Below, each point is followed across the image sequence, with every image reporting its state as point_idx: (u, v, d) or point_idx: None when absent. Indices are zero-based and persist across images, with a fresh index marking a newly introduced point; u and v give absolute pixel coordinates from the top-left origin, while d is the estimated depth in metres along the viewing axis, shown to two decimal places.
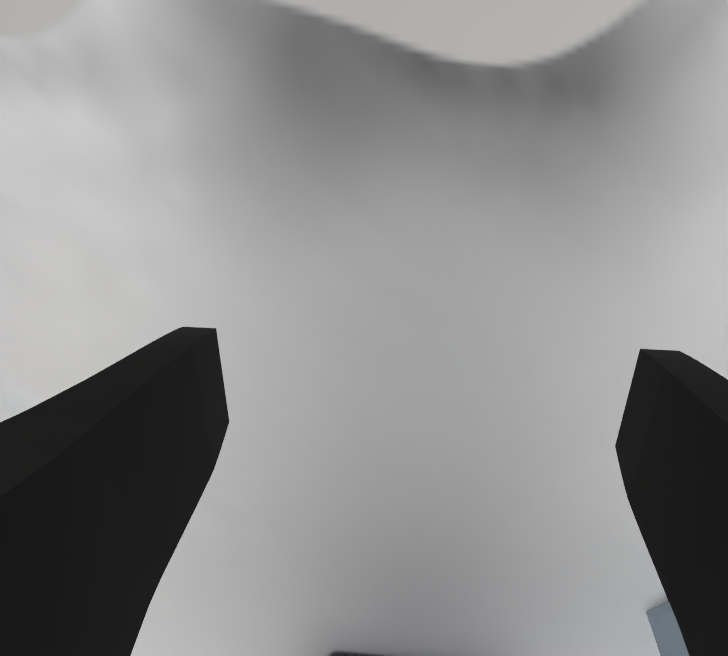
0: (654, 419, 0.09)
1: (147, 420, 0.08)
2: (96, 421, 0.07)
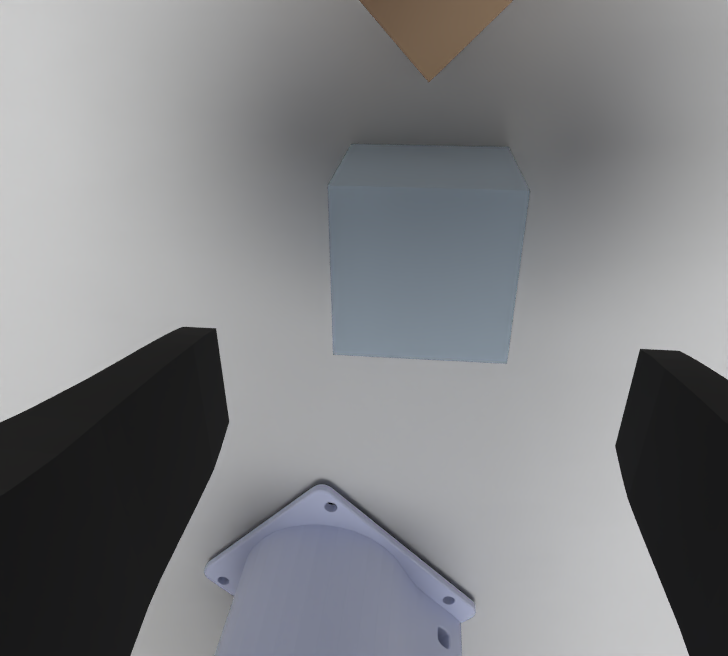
0: (654, 419, 0.09)
1: (147, 420, 0.08)
2: (96, 421, 0.07)
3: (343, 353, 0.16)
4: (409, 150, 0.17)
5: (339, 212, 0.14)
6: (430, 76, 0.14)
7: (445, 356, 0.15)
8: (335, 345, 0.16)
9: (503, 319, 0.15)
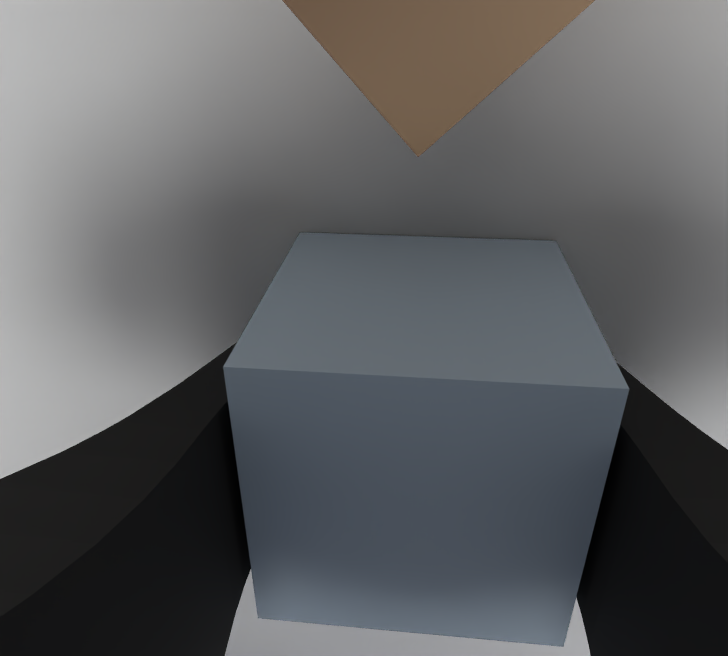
0: None
1: None
2: (201, 428, 0.07)
3: (275, 618, 0.09)
4: (392, 251, 0.10)
5: (250, 413, 0.07)
6: (421, 146, 0.07)
7: (454, 631, 0.09)
8: (260, 607, 0.09)
9: (561, 585, 0.08)
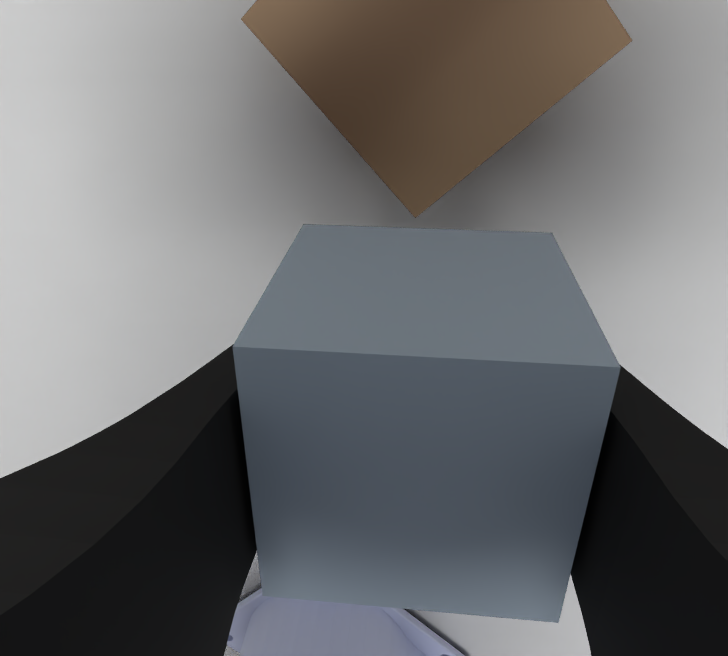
0: None
1: (237, 426, 0.08)
2: (200, 428, 0.07)
3: (279, 595, 0.09)
4: (393, 242, 0.10)
5: (258, 392, 0.07)
6: (417, 212, 0.15)
7: (452, 608, 0.09)
8: (265, 584, 0.09)
9: (556, 562, 0.08)
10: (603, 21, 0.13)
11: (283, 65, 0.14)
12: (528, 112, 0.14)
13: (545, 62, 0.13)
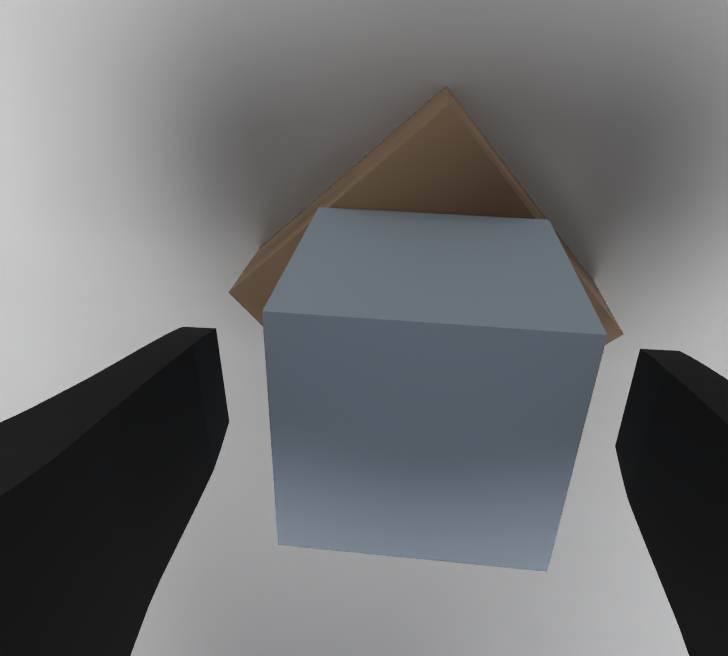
0: (654, 419, 0.09)
1: (147, 420, 0.08)
2: (95, 421, 0.07)
3: (293, 544, 0.10)
4: (402, 225, 0.11)
5: (284, 353, 0.08)
6: None
7: (451, 557, 0.10)
8: (281, 534, 0.10)
9: (546, 514, 0.09)
10: None
11: None
12: None
13: None
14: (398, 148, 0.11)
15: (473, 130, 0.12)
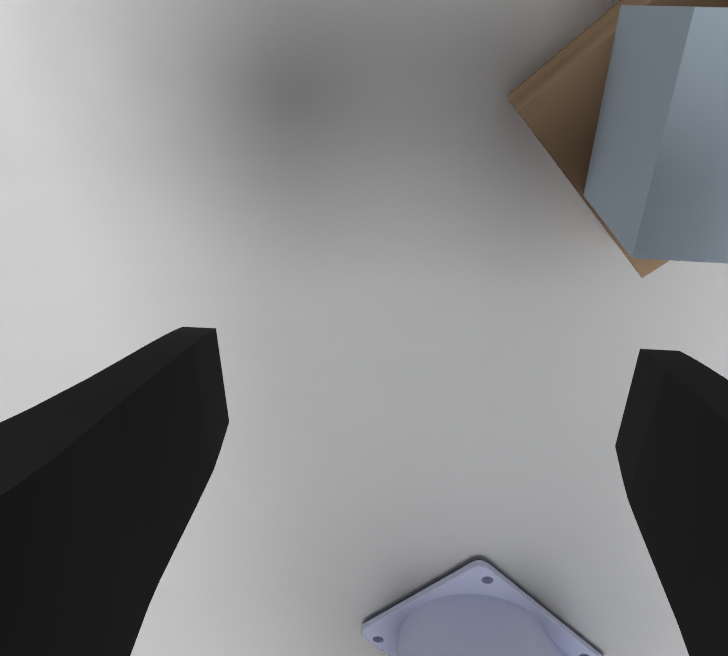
0: (654, 419, 0.09)
1: (147, 420, 0.08)
2: (95, 421, 0.07)
3: (647, 256, 0.12)
4: None
5: (700, 49, 0.10)
6: (644, 273, 0.17)
7: None
8: (639, 245, 0.12)
9: None
10: None
11: (546, 149, 0.16)
12: None
13: None
14: None
15: None
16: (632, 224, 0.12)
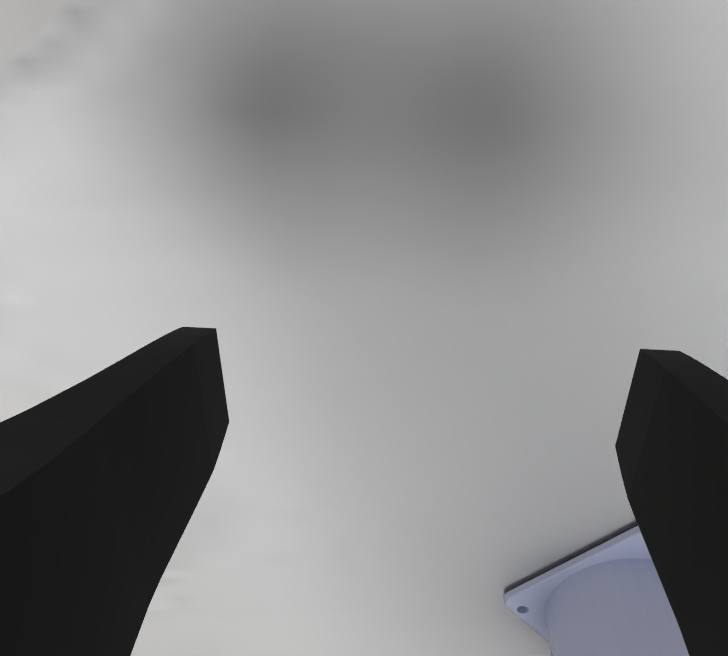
0: (654, 419, 0.09)
1: (147, 420, 0.08)
2: (96, 421, 0.07)
3: None
4: None
5: None
6: None
7: None
8: None
9: None
10: None
11: None
12: None
13: None
14: None
15: None
16: None
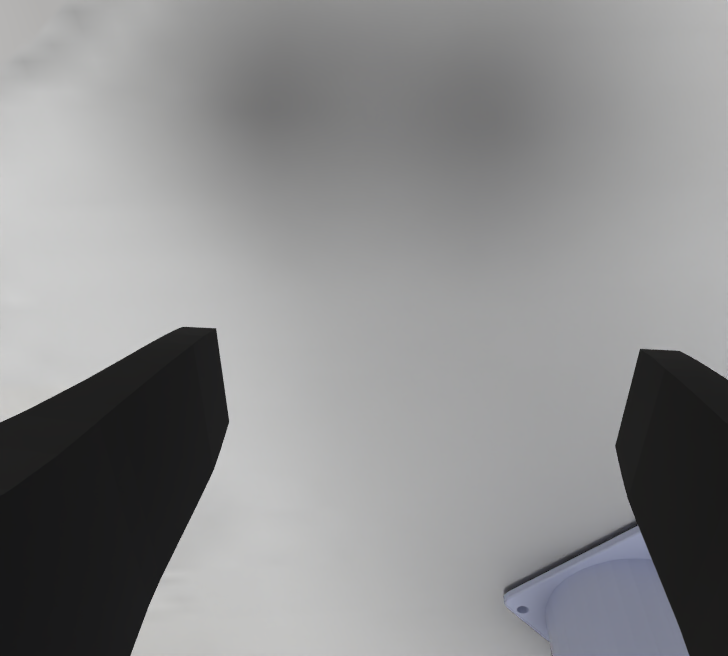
0: (654, 419, 0.09)
1: (147, 420, 0.08)
2: (96, 421, 0.07)
3: None
4: None
5: None
6: None
7: None
8: None
9: None
10: None
11: None
12: None
13: None
14: None
15: None
16: None
